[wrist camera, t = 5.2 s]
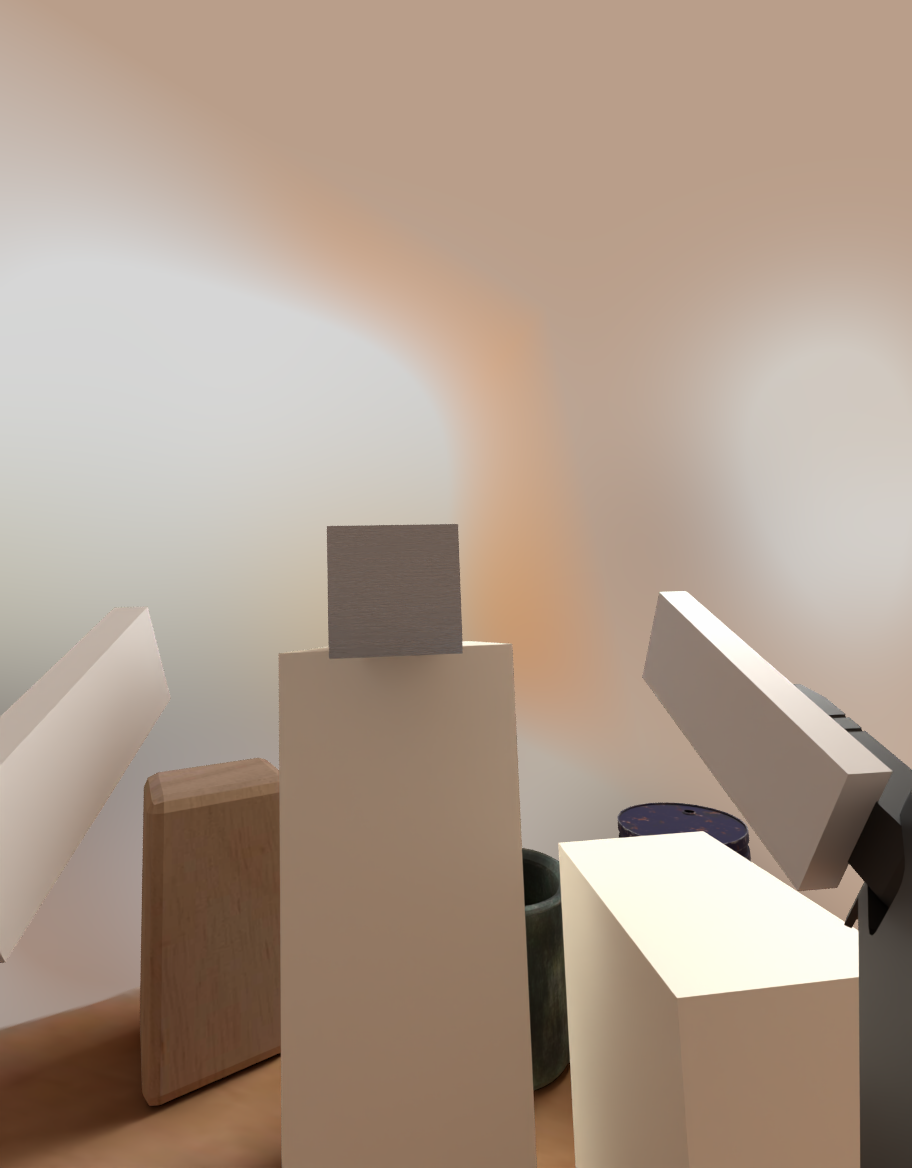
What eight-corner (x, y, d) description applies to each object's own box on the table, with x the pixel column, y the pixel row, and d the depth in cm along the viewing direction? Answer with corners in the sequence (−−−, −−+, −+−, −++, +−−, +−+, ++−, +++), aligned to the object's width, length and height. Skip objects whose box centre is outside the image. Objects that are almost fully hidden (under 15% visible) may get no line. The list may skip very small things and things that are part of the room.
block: (298, 1052, 40) (295, 776, 41) (142, 1120, 34) (147, 801, 36) (268, 981, 48) (267, 754, 50) (139, 1027, 43) (143, 772, 45)
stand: (283, 1476, 19) (278, 653, 22) (331, 1127, 33) (325, 646, 36) (548, 1423, 21) (512, 643, 23) (489, 1106, 34) (470, 641, 37)
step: (734, 1791, 14) (677, 998, 16) (580, 1260, 26) (558, 843, 28) (1003, 1713, 15) (919, 969, 17) (734, 1234, 27) (703, 831, 29)
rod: (329, 659, 14) (326, 526, 14) (372, 645, 36) (371, 593, 36) (462, 653, 14) (457, 524, 14) (425, 643, 36) (423, 591, 36)
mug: (458, 1127, 33) (451, 923, 34) (413, 982, 47) (409, 841, 48) (612, 1081, 36) (600, 895, 37) (527, 957, 50) (520, 825, 51)
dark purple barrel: (756, 1098, 34) (736, 857, 36) (609, 1034, 40) (597, 829, 42) (776, 1009, 42) (759, 814, 44) (650, 966, 48) (639, 795, 49)
